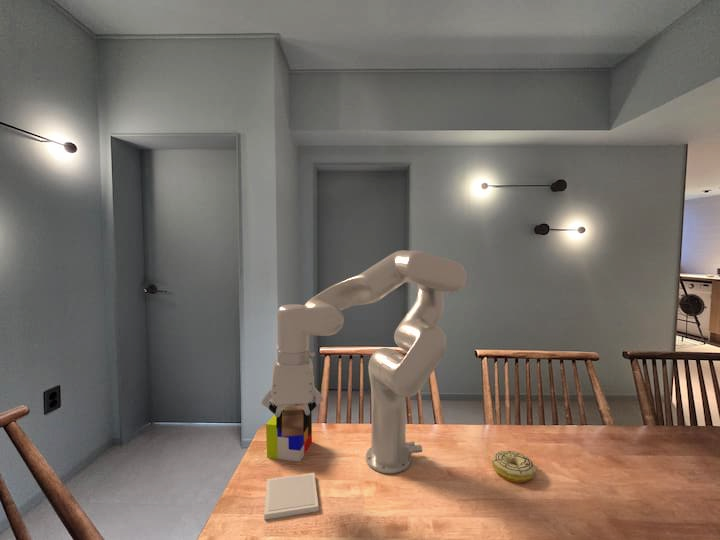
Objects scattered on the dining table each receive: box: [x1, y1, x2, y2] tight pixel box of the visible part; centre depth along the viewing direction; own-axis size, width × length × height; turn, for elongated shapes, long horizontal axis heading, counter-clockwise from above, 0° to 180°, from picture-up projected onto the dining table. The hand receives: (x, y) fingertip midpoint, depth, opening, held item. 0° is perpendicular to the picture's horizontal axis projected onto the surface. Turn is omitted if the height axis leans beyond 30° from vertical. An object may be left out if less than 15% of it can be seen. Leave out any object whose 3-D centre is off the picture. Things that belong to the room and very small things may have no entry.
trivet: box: [263, 472, 320, 520], centre depth 86 cm, size 12×12×1 cm
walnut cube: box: [282, 404, 304, 437], centre depth 87 cm, size 5×5×5 cm
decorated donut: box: [491, 450, 537, 484], centre depth 95 cm, size 10×11×4 cm
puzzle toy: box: [265, 407, 313, 462], centre depth 105 cm, size 10×10×10 cm
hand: (292, 428), depth 87 cm, fingers closed on walnut cube, 5 cm apart
